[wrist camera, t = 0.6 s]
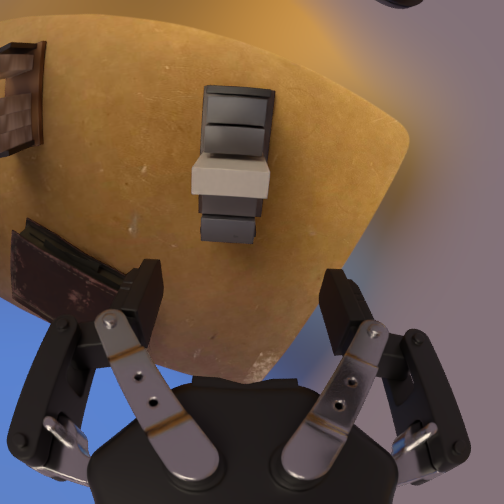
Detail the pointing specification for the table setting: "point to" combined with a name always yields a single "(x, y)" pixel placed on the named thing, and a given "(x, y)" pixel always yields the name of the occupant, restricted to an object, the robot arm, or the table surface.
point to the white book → (231, 175)
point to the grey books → (234, 142)
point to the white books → (21, 96)
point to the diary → (59, 276)
